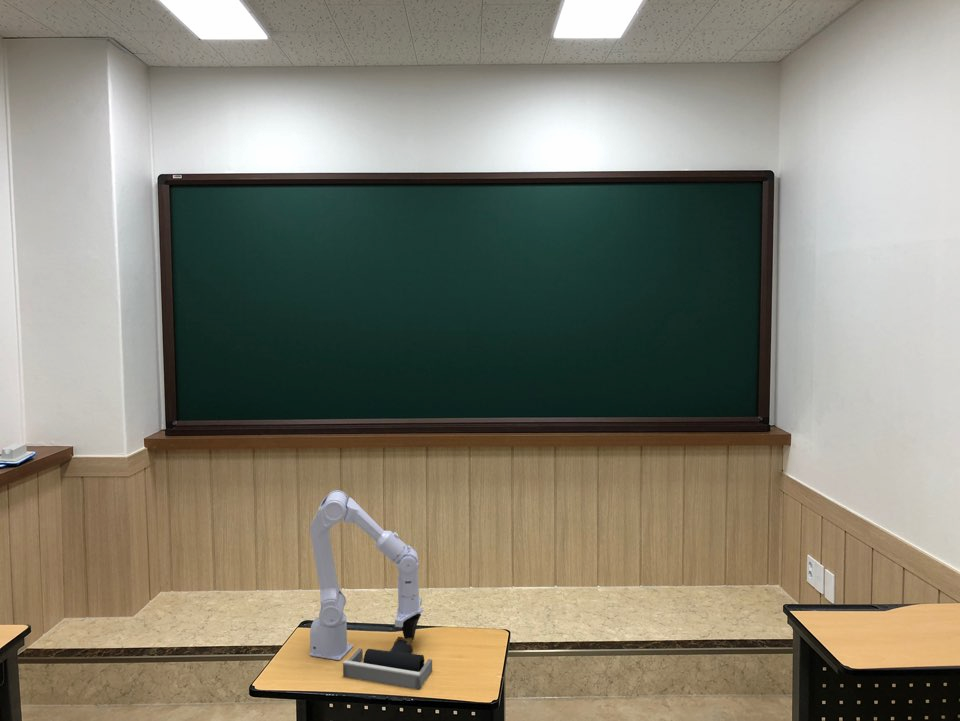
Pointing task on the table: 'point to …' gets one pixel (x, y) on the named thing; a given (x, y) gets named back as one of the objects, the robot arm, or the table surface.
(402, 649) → the pipe connector
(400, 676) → the bracket
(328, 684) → the table surface
